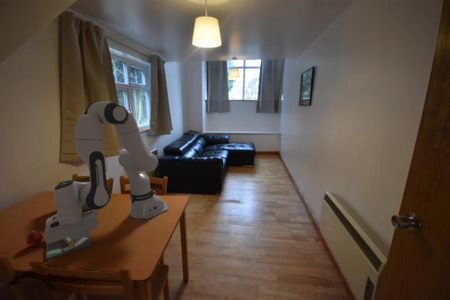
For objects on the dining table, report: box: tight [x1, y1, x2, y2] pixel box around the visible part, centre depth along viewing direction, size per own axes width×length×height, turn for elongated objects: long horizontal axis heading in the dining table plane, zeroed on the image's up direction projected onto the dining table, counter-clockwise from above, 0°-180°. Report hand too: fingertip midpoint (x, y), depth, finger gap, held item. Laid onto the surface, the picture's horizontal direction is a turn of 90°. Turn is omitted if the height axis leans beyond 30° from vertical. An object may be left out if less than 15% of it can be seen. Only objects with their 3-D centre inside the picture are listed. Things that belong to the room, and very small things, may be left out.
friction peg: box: [64, 237, 75, 249], centre depth 101 cm, size 2×15×6 cm, turn 52°
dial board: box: [45, 230, 93, 262], centre depth 103 cm, size 17×16×1 cm
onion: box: [25, 230, 44, 247], centre depth 101 cm, size 6×6×8 cm
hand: (75, 242), depth 100 cm, fingers closed
